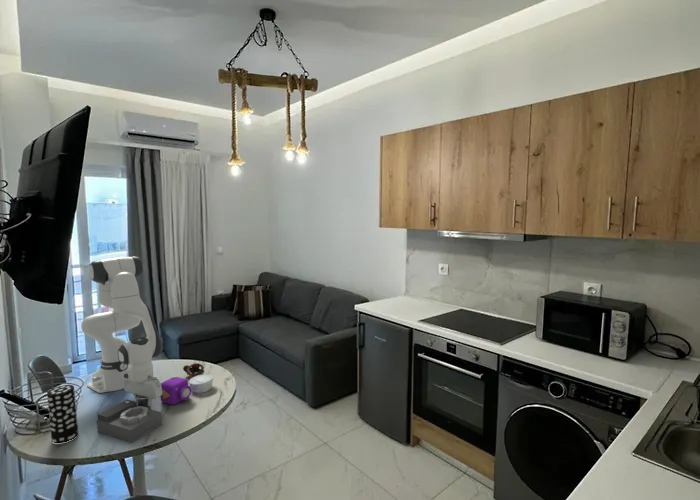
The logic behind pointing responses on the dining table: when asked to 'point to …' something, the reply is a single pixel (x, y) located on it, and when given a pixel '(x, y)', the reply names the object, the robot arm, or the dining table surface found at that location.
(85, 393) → the dining table surface
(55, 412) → the spotted tube
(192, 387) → the ramekin
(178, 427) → the dining table surface
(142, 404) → the lens
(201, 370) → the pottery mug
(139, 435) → the camera body
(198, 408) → the dining table surface
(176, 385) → the toy camera
